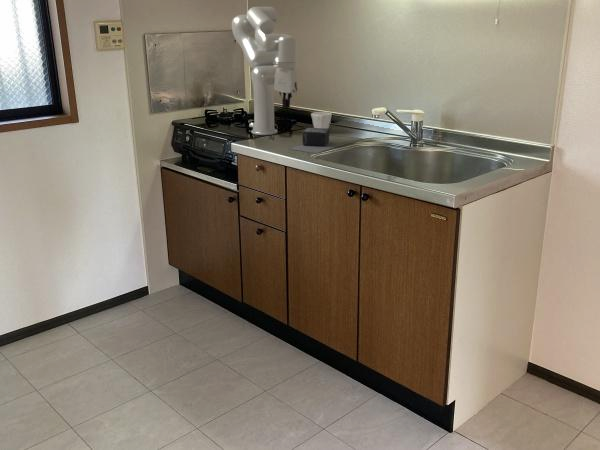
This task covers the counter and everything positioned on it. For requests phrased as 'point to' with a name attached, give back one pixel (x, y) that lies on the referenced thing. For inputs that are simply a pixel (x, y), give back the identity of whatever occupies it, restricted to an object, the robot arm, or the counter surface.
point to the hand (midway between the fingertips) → (286, 107)
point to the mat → (317, 147)
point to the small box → (316, 136)
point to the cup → (321, 119)
